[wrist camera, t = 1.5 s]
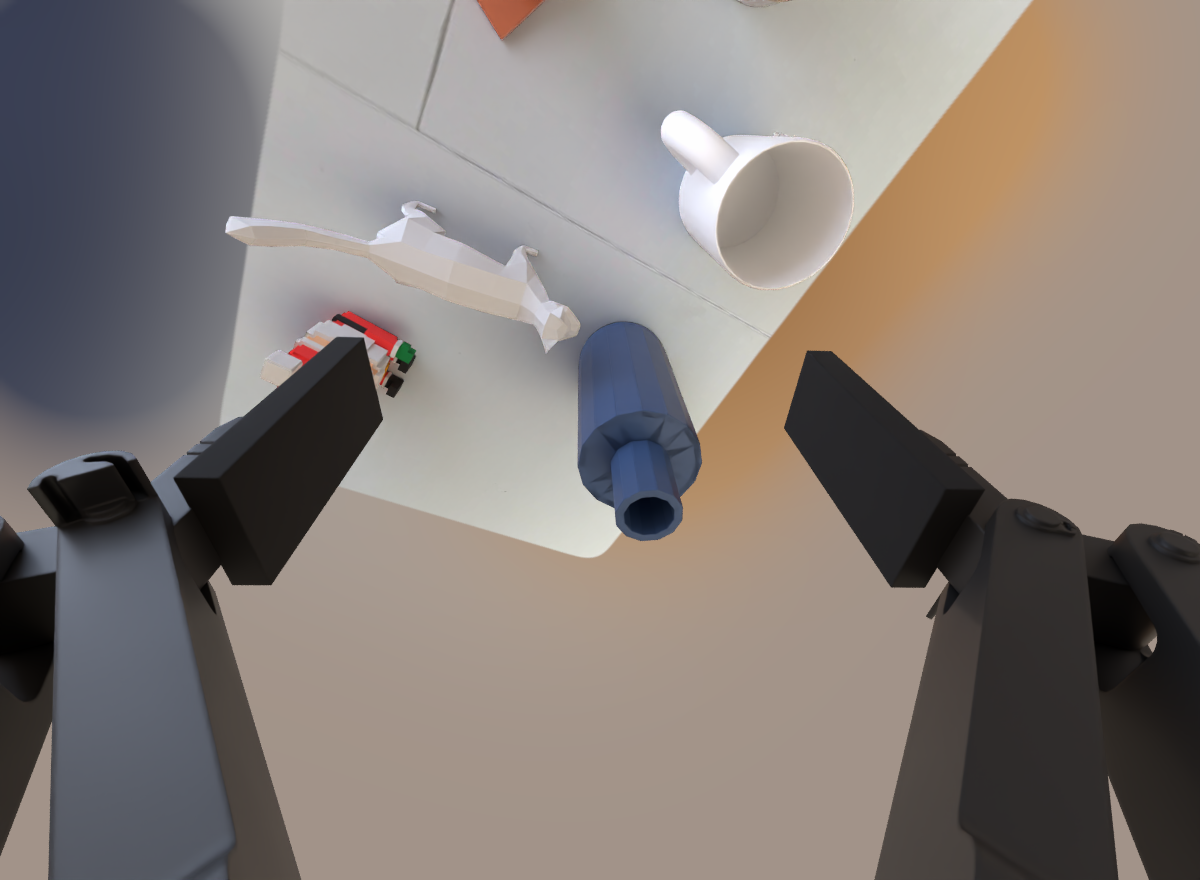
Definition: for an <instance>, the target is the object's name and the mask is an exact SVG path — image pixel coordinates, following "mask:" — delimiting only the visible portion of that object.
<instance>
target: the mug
mask: <svg viewBox="0 0 1200 880" xmlns="http://www.w3.org/2000/svg"><path fill="white" fill-rule="evenodd" d="M778 134H779V132H774V133H773V136H757V135H730V136H726V137H721V136H720V135H718V134H717V133H716V132H715V131H714V130H713V129H711V128H710V127H709V126H708V125H706V124H705V123H704V122H702V121H701V120H700V119H698V118H697V117H695V116H693V115H691V114H689V113H688V112H686V111H683V110H680V111H674V112H672V113H671V114H669V115H668V116H667V117H666V118H665V119H664V122H663V124H662V126H661V139H662V140H663V142H664V144H665V146H666V147H667V149H668V150H669V151H670V153H671V154H672V155H673V156H674V157H675V158H676V159H677V161H678V162H679V163H680V164H681V165H682V166H683V167H684V168H685V169H686V172H685V174H684V177H683V179H682V183H681V187H680V192H679V210H680V216H681V219H682V222H683V224H684V226H685V228H686V230H687V232H688V233H689V234H690V235H691V236H692V238H693V239H694V240H695V241H696V242H697V243H698V244H699V245H700V246H701V247H702V248H703V249H704V250H705V251H706V252H707V253H708V254H709V255H710V256H711V257H712V258H713V259H714V260H715V261H716V262H717V263H718V264H719V265H720V266H721V267H722V268H723V269H724V270H725V271H727V272H728V273H729V274H730V275H731V276H732V277H733V278H734V279H736V280H737V281H738V282H740V283H742V284H744V285H746V286H748V287H751V288H755V289H760V290H778V289H783V288H787V287H790V286H793V285H795V284H798V283H800V282H802V281H804V280H806V279H807V278H809V277H811V276H812V275H814V274H815V273H817V272H818V271H819V270H820V269H821V268H822V267H823V266H825V265H826V264H827V263H828V261H829V260H830V259H831V258H832V257H833V256H834V254H835V253H836V252H837V250H838V248H839V247H840V245H841V244H842V242H843V240H844V238H845V236H846V234H847V231H848V229H849V227H850V223H851V219H852V215H853V208H854V191H853V183H852V179H851V176H850V173H849V170H848V168H847V166H846V165H845V163H844V161H843V160H842V158H841V157H840V156H839V155H838V154H837V153H836V152H835V151H834V150H833V149H832V148H830V147H829V146H827V145H825V144H823V143H821V142H819V141H817V140H813V139H808V138H800V137H798V136H796V135H794V136H793V137H790V136H788V135H784V134H783V133H780V134H779V136H778Z"/></svg>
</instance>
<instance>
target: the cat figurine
mask: <svg viewBox="0 0 1200 880" xmlns="http://www.w3.org/2000/svg"><path fill="white" fill-rule="evenodd" d="M417 206H418V207H420V208H423V209H425V210H427V211H430V212H432V213H434V214H435V213H436V208H434V207H431V206H429V205H426V204H424V203H421V202H419V201H411V202H408V203H405V204H402V209H401V211H402V212H403V213H404V215H405V216H406V217H405V218H403V219H401V220H399V221H397V222H395V223H393V224H392V225H390V226H388V227H386V228H384V229H382V230H380V231H378V234H377V239H376V240H373V241H369V242H368V241H365V240H361V239H358V238H355V237H351V236H348V235H345V234H341V233H338V232H334V231H331V230H327V229H322V228H318V227H313V226H309V225H304V224H300V223H295V222H287V221H278V220H269V219H258V218H246V217H233V216H231V217H230V218H229V220H228V222H227V224H226V233H227V234H229V235H230V236H232V237H234V238H236V239H238V240H240V241H242V242H244V243H246V244H248V245H250V246H271V247H272V246H309V247H316V248H324V249H332V250H337V251H341V252H346V253H350V254H354V255H358V256H362V257H366V258H368V259H370V260H371V261H372V262H373V263H375V264H376V265H377V266H378V267H380V268H381V269H382V270H384V271H385V272H386V273H387V274H389V275H390V276H391V277H393V279H394V280H395V281H396V282H397V283H399V284H403V285H407V286H411V287H415V288H419V289H422V290H424V291H426V292H429V293H431V294H433V295H435V296H437V297H440V298H442V299H444V300H446V301H450V302H453V303H456V304H459V305H462V306H466V307H469V308H472V309H475V310H478V311H482V312H485V313H489V314H493V315H497V316H502V317H506V318H509V319H514V320H519V321H522V322H526V323H529V324H532V325H534V326H535V328H536V329H537V331H538V333H539V335H540V337H541V339H542V343H543V346H544V349H545V353H547V352H548V351H549V350H550V349H551V347H552V346H553V345H554V344H555V343H556V342H559V341H562V340H565V339H568V338H572V337H575V336H576V335H577V334H578V332H579V328H580V325H581V324H580V322H579V321H578V319H577V318H576V316H575V315H574V314H573V312H572V311H571V310H570V308H569V307H567V306H564V305H562V304H559V303H557V302H554V301H550V300H549V297H548V295H547V293H546V290H545V289H544V287H543V285H542V283H541V281H540V279H539V277H538V276H537V274H536V272H535V270H534V268H533V267H532V265H531V263H530V261H529V260H528V256H527V253H528V254H530V255H533V256H535V257H537V255H538V251H537V250H535V249H532V248H530V247H527V246H525V245H522V246H520V247H518V248H517V249H515V250H514V251H513V254H512V257H511V259H510V260H509V262H508V263H507V264H506V266H504V265H503V264H501V263H499V262H497V261H495V260H493V259H491V258H490V257H488V256H486V255H484V254H482V253H480V252H478V251H477V250H475V249H473V248H471V247H469V246H467V245H465V244H464V243H461V242H458V241H456V240H453V239H450V238H448V237H445V233H446V231H445V230H444V229H443V228H441V227H440V226H439V225H438V224H436V223H435V222H434V221H433V220H432V219H431V218H429V217H428V216H427V215H426V214H425V213H424V212H422V211H420V210H417V209H416V208H417Z"/></svg>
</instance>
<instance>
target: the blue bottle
mask: <svg viewBox="0 0 1200 880" xmlns="http://www.w3.org/2000/svg"><path fill="white" fill-rule="evenodd" d="M701 464H702V459H701V449H700V443H699V440H698V437H697V435H696V432H695V429H694V427H693V424H692V421H691V419H690V416H689V413H688V411H687V408H686V405H685V403H684V400H683V397H682V395H681V392H680V389H679V387H678V384H677V381H676V379H675V376H674V373H673V371H672V368H671V365H670V363H669V360H668V357H667V355H666V352H665V349H664V348H663V346H662V344H661V342H660V340H659V339H658V338H657V336H656V335H655V334H654V333H653V332H651V331H650V330H649V329H647V328H646V327H644V326H642V325H639V324H636V323H631V322H617V323H612V324H609V325H606V326H604V327H602V328H600V329H599V330H597V331H596V332H595V333H593V334H592V335H591V336H590V337H589V339H588V340H587V341H586V343H585V344H584V346H583V348H582V351H581V354H580V361H579V378H578V469H579V472H580V476H581V479H582V483H583V485H584V486H585V487H586V488H587V489H588V491H589V492H590V493H591V494H592V495H593V496H594V497H595V498H596V499H597V500H599V501H601V502H603V503H605V504H607V505H609V506H611V507H613V508H615V518H616V525H617V527H618V528H619V529H620V530H621V531H622V532H623V533H624V534H625V535H626V536H628V537H631V538H634V539H636V540H640V541H648V540H658V539H661V538H662V537H665V536H667V535H669V534H671V533H673V532H674V531H675V529H676V528H677V527H678V525H679V524H680V523H681V521H682V514H683V513H682V512H683V507H682V503H681V499H680V497H681V496H682V495H683V493H684V492H685V491H686V490H687V489H688V488H689V487H690V486H691V485H692V484H693V483H694V481H695V480H696V477H697V475H698V472H699V469H700V467H701Z"/></svg>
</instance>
